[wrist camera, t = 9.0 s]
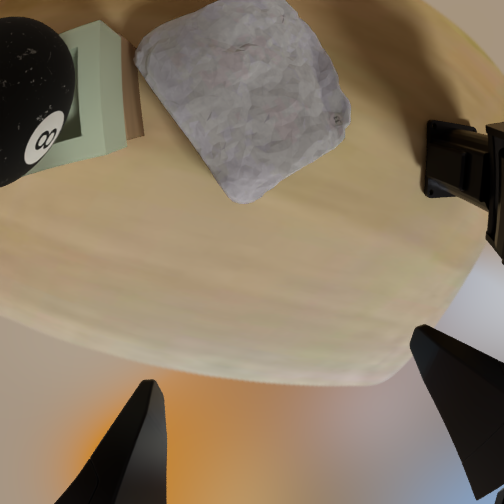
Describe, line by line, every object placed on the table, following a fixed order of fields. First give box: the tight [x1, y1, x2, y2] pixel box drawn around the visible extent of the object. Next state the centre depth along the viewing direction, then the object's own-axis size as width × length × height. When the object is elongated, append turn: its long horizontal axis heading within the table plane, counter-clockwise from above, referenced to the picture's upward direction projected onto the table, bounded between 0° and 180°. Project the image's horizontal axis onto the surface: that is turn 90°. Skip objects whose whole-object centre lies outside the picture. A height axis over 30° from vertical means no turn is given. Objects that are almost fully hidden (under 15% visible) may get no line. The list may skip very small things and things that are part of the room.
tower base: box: [117, 33, 144, 140], centre depth 13 cm, size 6×6×4 cm
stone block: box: [133, 0, 351, 204], centre depth 15 cm, size 12×5×10 cm
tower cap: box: [22, 20, 127, 177], centre depth 10 cm, size 6×6×3 cm
